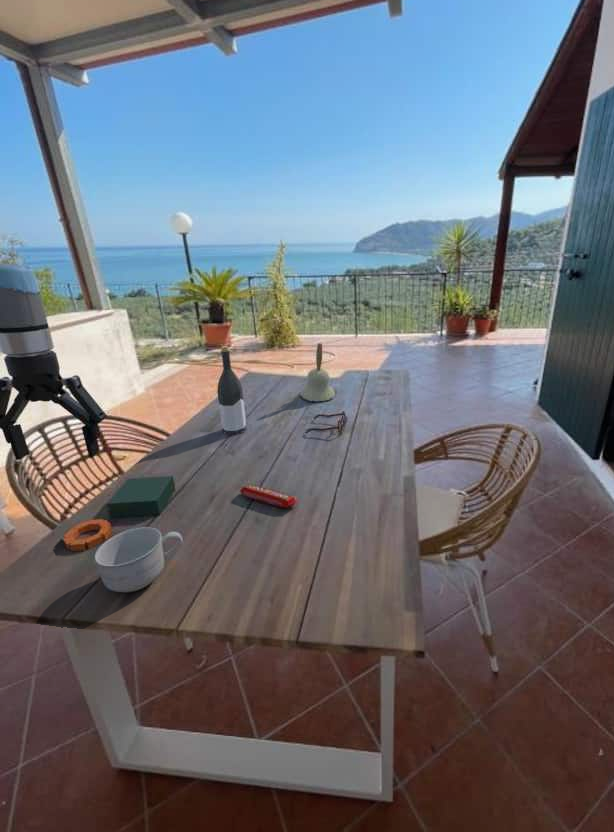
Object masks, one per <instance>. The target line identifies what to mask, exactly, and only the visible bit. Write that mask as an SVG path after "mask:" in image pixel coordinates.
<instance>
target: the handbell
mask: <svg viewBox="0 0 614 832" xmlns="http://www.w3.org/2000/svg"><path fill="white" fill-rule="evenodd" d="M315 361H316V367H313V368H312V369H310V370H309V371H308V373H307V378H306V379H307V383H306V385H304V386H303V387H301V389H300V391H299V394H300V397H301V398H303V399H304V400H306V401H308V400H309V401H308V402H312V401H322V400H327V399H330V398H332V399H334V397H335V396H336V392H335V389H334V388H332V387H331V386H330V374H329V372H328V371H327V370H325V369H324V368H322V363H323V344H322V343H321V342H319V343H317V345H316V352H315Z"/></svg>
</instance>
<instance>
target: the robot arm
mask: <svg viewBox="0 0 614 832" xmlns="http://www.w3.org/2000/svg"><path fill="white" fill-rule="evenodd" d="M54 348H55V345H54V342H53V337H52V334H51V330H50V327H49V323H48V319H47V315H46V311H45V306H44V302H43V298H42V291H41V289H40V287H39V284H38V282H37V278H36V275H35V273H34V270H33V269H32V268H31V267H30V266H28V265H26V264H0V351H1V353H2V354H3V355H5V357H4V358H3V360H4V363H5V367H6V370H7V373H8V376H10V377H11V378H10V377H8V376H4V377H3V376H2V377H1V378H0V430H2V433H3V436H4V440H5V442H6V443H7V444H10V446H11V450H12V452H13V455H14V459H15V460H16V461H21V460H22V459H24V458H25V457H27V456H28V455H30V451H29V448H28V447H29V446H28V444H27V441H26V437H25V435H24V432H23V429H22V425H21V424H20V423H19V424H18V419H19V418H20V416H21V415H22V413H23V412H24V411H25V408H26V407H27V406H28V404H29V402H31V403H36V402H39V401H40V402H43V403H45V402H52V403H54V404H56V405H58V406H60V407H62V408H63V409H64V410H66V412H67V413H69V414H70V415H71V416H73V417H74V418H76V420H78V421H79V422H81V423H82V424H83V426H81V431H82V435H83V438H84V443H85V447H86V451H87V455H88V458H94V457H95V456H96V455H97V454H98V453H99V452H100V451H101V449H100V445H99V441H98V440H99V439H100V437H101V433H100V427H99V424H100V423H101V422H102V421H104V420H105V419H107V417H108V416H107V414H106V413H105V410H103V409H102V407H101V406H100V405H99V404H98V403H97V402H96V400H95V399H94V398H93V396H92V395H91V394H90V393H89V392H88V389H86V388H85V386H84V385H83V383H82V380H81V378H80V376H79V375H77V374H74V375H72V376H70V377H64V378H63V377H62V375H61V374H60V373H61V372H60V369H61V368H60V363H59V359H58V355H57V352H55V351H54V350H53V349H54ZM64 387H65V388H64ZM13 389H15V390H16V391H17V392H18V393H17V395H16V396H15V397H14V399H13V403H12V404H11V406H10V407H9V403H10V399H11V395H12V390H13ZM67 390H68V391H69V392H68V391H67ZM71 395H72V396H73V397H72V396H71ZM74 398H75V399H74ZM8 407H9V409H8Z"/></svg>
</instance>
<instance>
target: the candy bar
mask: <svg viewBox="0 0 614 832" xmlns="http://www.w3.org/2000/svg"><path fill="white" fill-rule="evenodd" d="M239 492H240V493H241V495H242V496H244V497H246V498H250V499H252V500H256V501H259V502H263V503H266V504H269V505H272V506H275V507H278V508H282V509H288V508H291V507H292V506H294V505H295V504H298V502H297V501H296V499H295V497H294V496H293V495H291V494H288V493H284V492H282V491H276V490H275V489H271V488H266V487H263V486H261V485H256V484H251V483H250V484H246V485H244V486H243V487H242V488H241V489H240V490H239Z"/></svg>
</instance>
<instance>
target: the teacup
mask: <svg viewBox="0 0 614 832" xmlns="http://www.w3.org/2000/svg"><path fill="white" fill-rule="evenodd" d="M172 539H176V543H175V545H174V546H173V547H172V548H171V549H170V550H168V551H165V549H166V545H167V542H168V541H169V540H172ZM183 543H184V539H183V536H182V535H181V533H179V532H177V531H170V532H167V533H166V534H164V535H163V536H162V533H161V531H160V530H159V529H158V528H155V527H151V526H150V527H149V526H145V527H143V526H142V527H136V528H131V529H127V530H125V531H122V532H120V533H118V534H115V535H113V536H112V537H110V538H108V539H106V540H105V542H102V543H101V545H100V546H99V547H98V549H97V550H96V552H95V554H94V562H95V564H96V566H97V569H98V572H99V575H100V579H101V581H102V582H103V584H104V586H105V587H106V588H107V589H109V590H110V591H112V592H116V593H133V592H136V591H140V590H142V589H144V588H145V587H147V586H149V585H150V584H152V583H153V582H154V581H155V580H156V579H157V578H158V576H159V575H160V574H162V571H163V570H164V567H165V566H166V565H165V564H166V563H167V562H169V560H170V559H171V557H172V556H174V555H175V554H177V552H178V551H179V550H180V549H181V548H182V545H183Z"/></svg>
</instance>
